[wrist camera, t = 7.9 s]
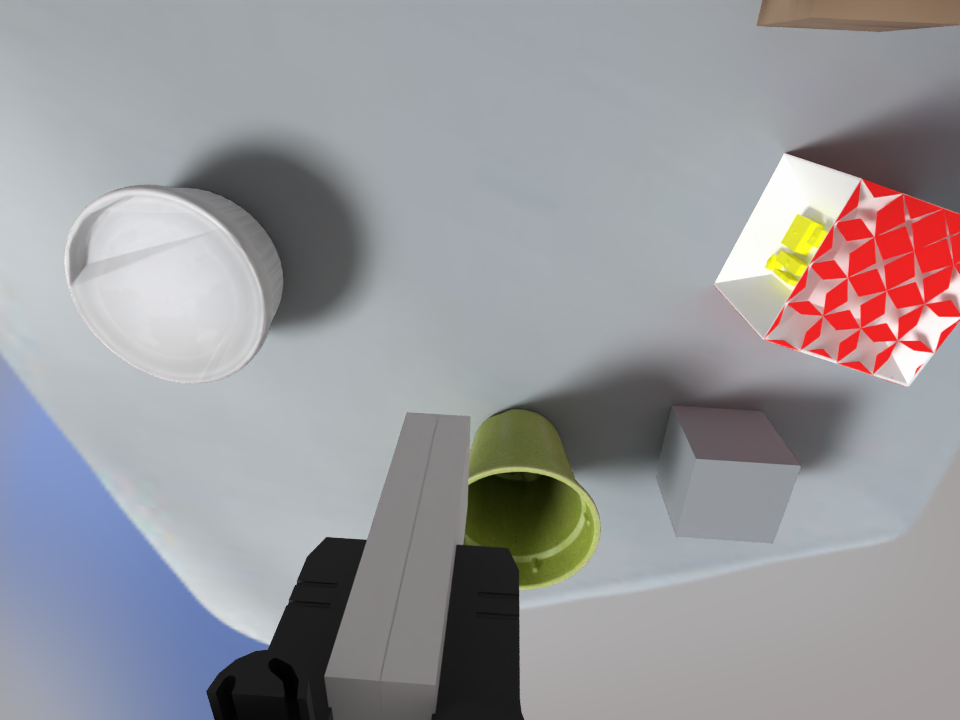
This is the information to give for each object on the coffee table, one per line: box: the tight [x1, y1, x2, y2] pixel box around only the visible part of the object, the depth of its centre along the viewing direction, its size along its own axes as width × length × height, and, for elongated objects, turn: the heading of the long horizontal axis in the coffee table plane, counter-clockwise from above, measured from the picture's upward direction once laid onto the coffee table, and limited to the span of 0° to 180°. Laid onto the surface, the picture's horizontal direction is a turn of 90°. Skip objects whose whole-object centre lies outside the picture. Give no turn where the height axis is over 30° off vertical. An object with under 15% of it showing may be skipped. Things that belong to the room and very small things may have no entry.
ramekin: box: [64, 185, 283, 384], centre depth 34 cm, size 11×11×5 cm
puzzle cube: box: [714, 153, 960, 387], centre depth 30 cm, size 8×8×8 cm
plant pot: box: [463, 409, 601, 590], centre depth 37 cm, size 9×9×9 cm
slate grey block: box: [656, 405, 801, 543], centre depth 37 cm, size 6×6×6 cm
